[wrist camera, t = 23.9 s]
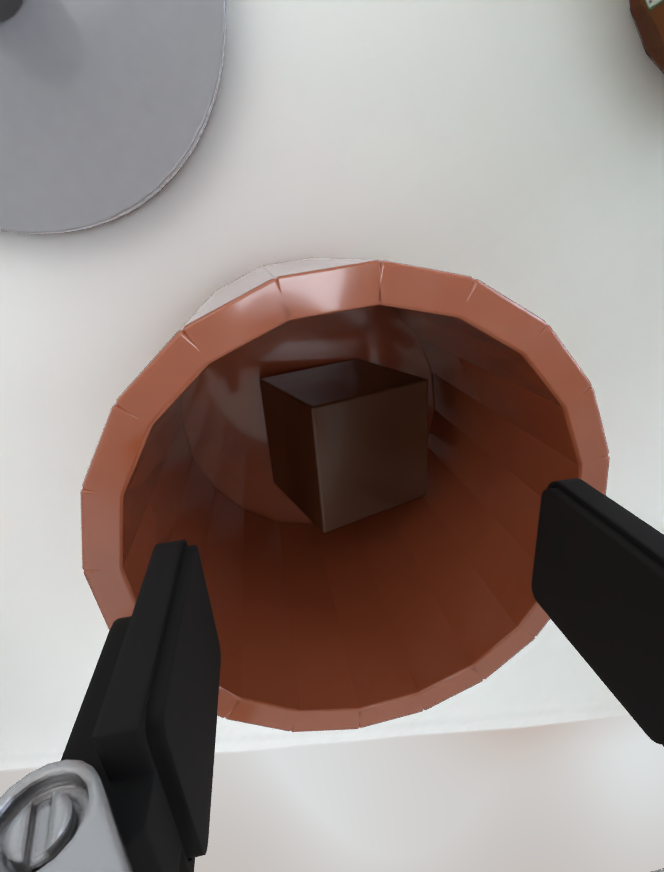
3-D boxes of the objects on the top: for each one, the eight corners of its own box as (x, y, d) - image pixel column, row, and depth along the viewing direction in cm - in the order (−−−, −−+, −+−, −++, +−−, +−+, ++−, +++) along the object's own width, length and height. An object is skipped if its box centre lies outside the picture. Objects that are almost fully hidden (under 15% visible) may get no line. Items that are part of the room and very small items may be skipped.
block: (359, 357, 19) (429, 378, 15) (364, 454, 20) (429, 494, 17) (258, 378, 17) (311, 407, 13) (272, 483, 18) (324, 535, 15)
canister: (496, 402, 21) (687, 515, 12) (313, 573, 23) (356, 786, 14) (310, 185, 17) (388, 97, 7) (99, 419, 18) (-50, 583, 9)
